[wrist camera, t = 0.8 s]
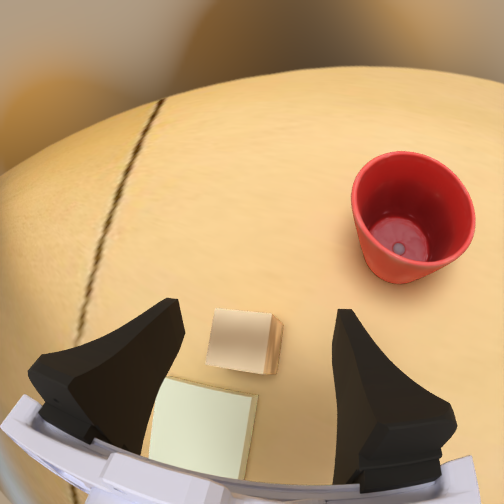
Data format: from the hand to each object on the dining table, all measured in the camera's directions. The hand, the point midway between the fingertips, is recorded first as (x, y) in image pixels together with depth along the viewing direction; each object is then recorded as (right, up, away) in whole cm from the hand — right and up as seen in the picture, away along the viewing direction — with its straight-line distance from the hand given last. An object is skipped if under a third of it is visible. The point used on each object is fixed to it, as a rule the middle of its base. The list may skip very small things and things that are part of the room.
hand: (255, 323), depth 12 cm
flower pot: (+15, +3, +15) cm, 22 cm away
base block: (-5, -16, +13) cm, 21 cm away
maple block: (0, -6, +16) cm, 17 cm away
